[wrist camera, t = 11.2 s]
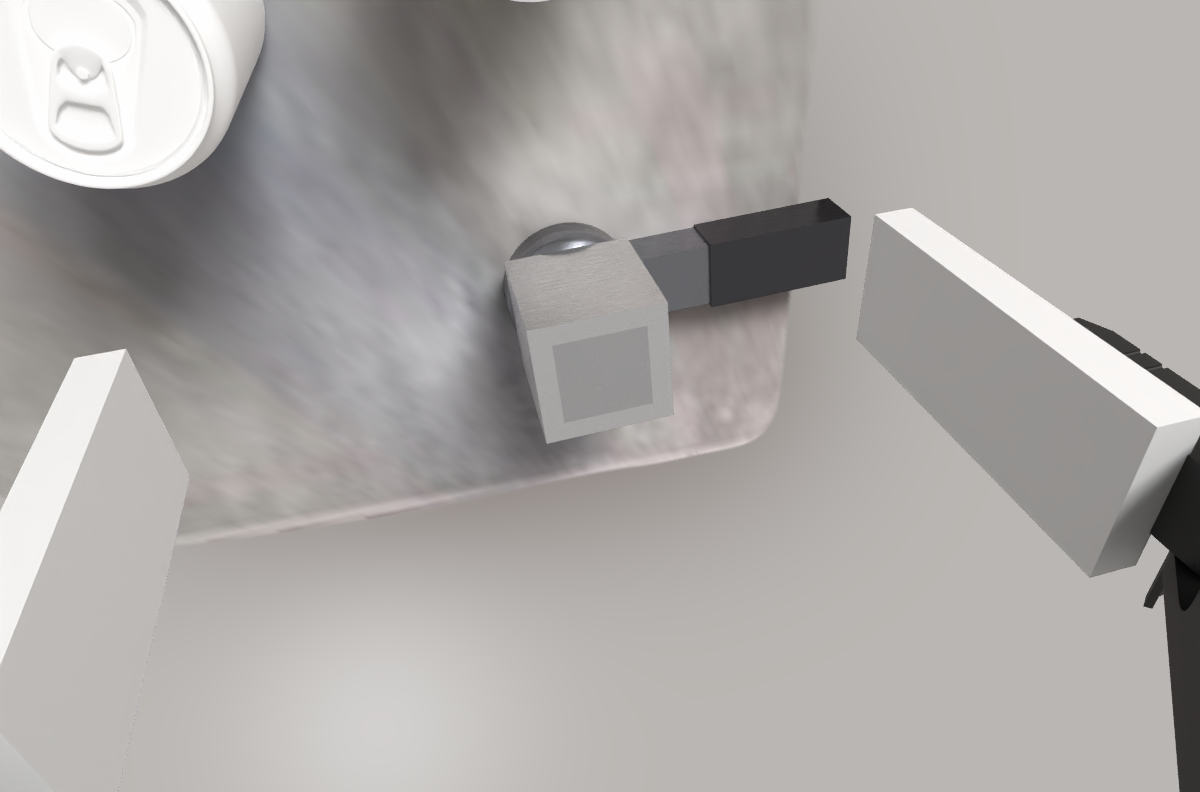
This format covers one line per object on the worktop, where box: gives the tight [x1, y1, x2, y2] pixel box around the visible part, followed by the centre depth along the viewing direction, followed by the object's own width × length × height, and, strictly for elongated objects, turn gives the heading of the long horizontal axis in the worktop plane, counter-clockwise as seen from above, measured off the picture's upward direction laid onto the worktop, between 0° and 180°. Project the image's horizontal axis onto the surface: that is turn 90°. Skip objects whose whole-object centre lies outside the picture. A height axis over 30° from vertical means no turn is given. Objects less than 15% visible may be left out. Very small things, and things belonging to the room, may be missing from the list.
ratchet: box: [504, 198, 851, 331], centre depth 43 cm, size 19×7×8 cm, turn 96°
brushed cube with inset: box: [504, 238, 674, 444], centre depth 40 cm, size 6×6×7 cm
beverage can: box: [0, 0, 265, 189], centre depth 28 cm, size 8×8×12 cm
